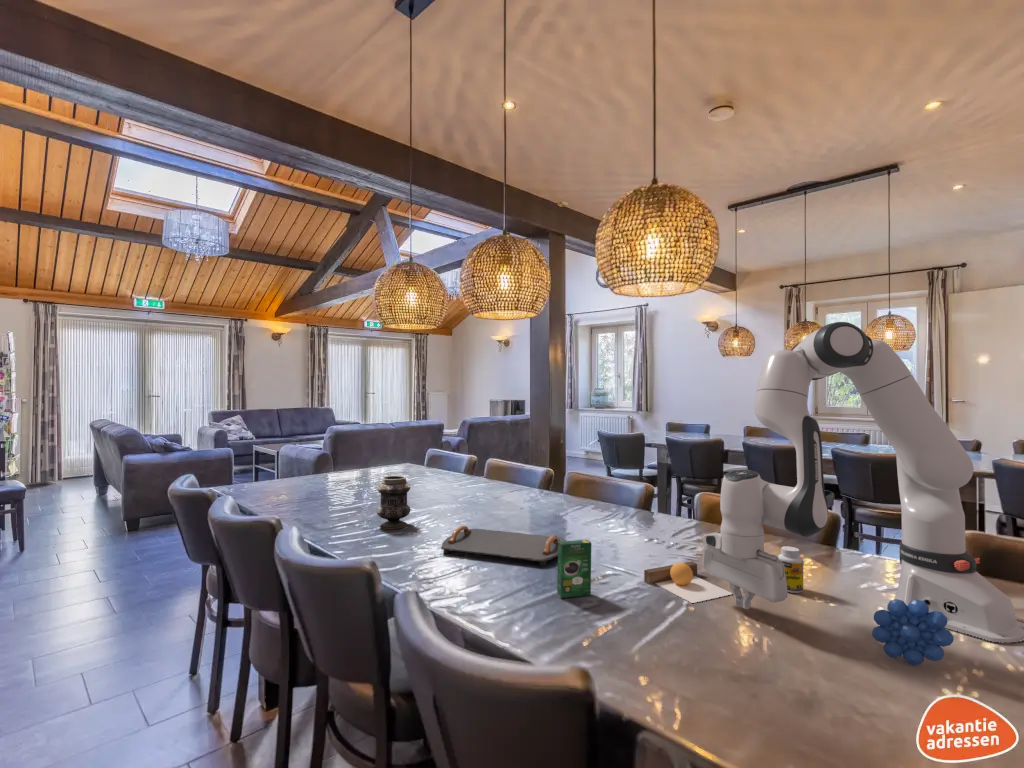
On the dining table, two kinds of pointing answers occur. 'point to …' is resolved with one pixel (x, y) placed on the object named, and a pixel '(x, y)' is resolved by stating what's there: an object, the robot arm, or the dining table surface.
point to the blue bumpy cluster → (912, 631)
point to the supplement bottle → (792, 568)
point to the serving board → (503, 544)
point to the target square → (695, 590)
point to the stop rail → (664, 573)
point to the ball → (681, 574)
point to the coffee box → (574, 568)
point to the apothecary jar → (393, 501)
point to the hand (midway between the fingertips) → (742, 606)
